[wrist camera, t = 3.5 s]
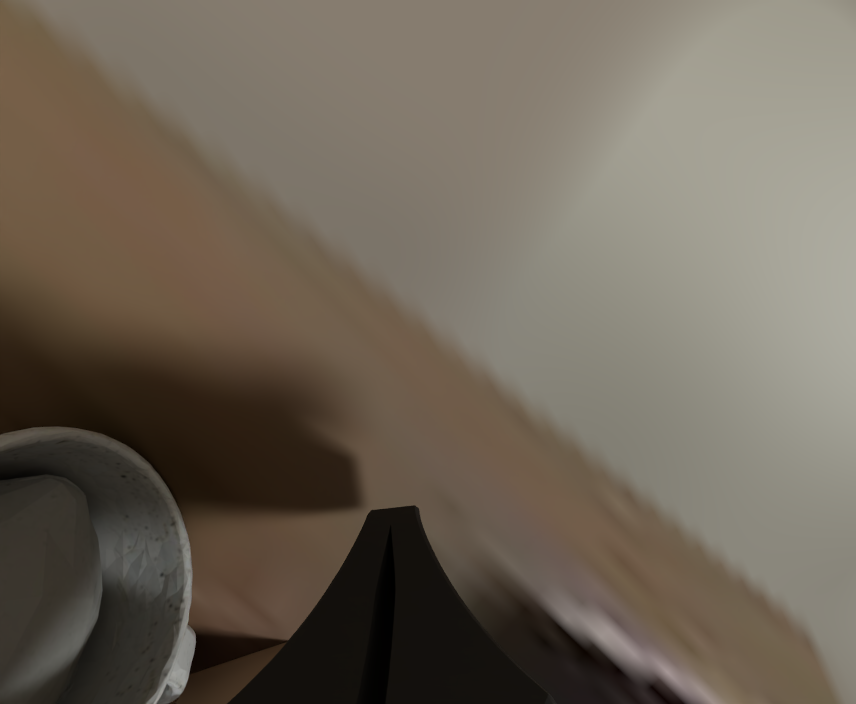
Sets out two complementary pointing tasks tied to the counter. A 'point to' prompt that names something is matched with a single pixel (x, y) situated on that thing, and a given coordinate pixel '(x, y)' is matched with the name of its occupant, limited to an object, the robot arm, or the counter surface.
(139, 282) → the counter surface
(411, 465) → the counter surface
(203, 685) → the walnut block
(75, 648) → the ceramic mug
